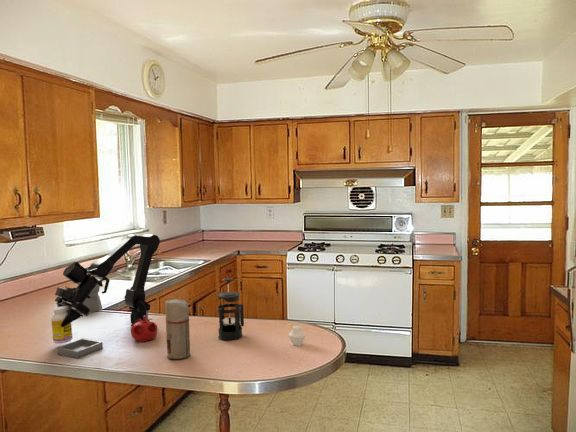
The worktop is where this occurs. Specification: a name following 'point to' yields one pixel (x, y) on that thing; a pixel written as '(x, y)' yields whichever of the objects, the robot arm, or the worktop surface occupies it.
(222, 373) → the worktop surface
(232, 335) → the french press
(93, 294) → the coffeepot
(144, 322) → the red ball with holes
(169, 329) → the spray can
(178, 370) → the worktop surface
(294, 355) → the worktop surface
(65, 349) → the tray
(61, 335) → the supplement bottle
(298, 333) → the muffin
